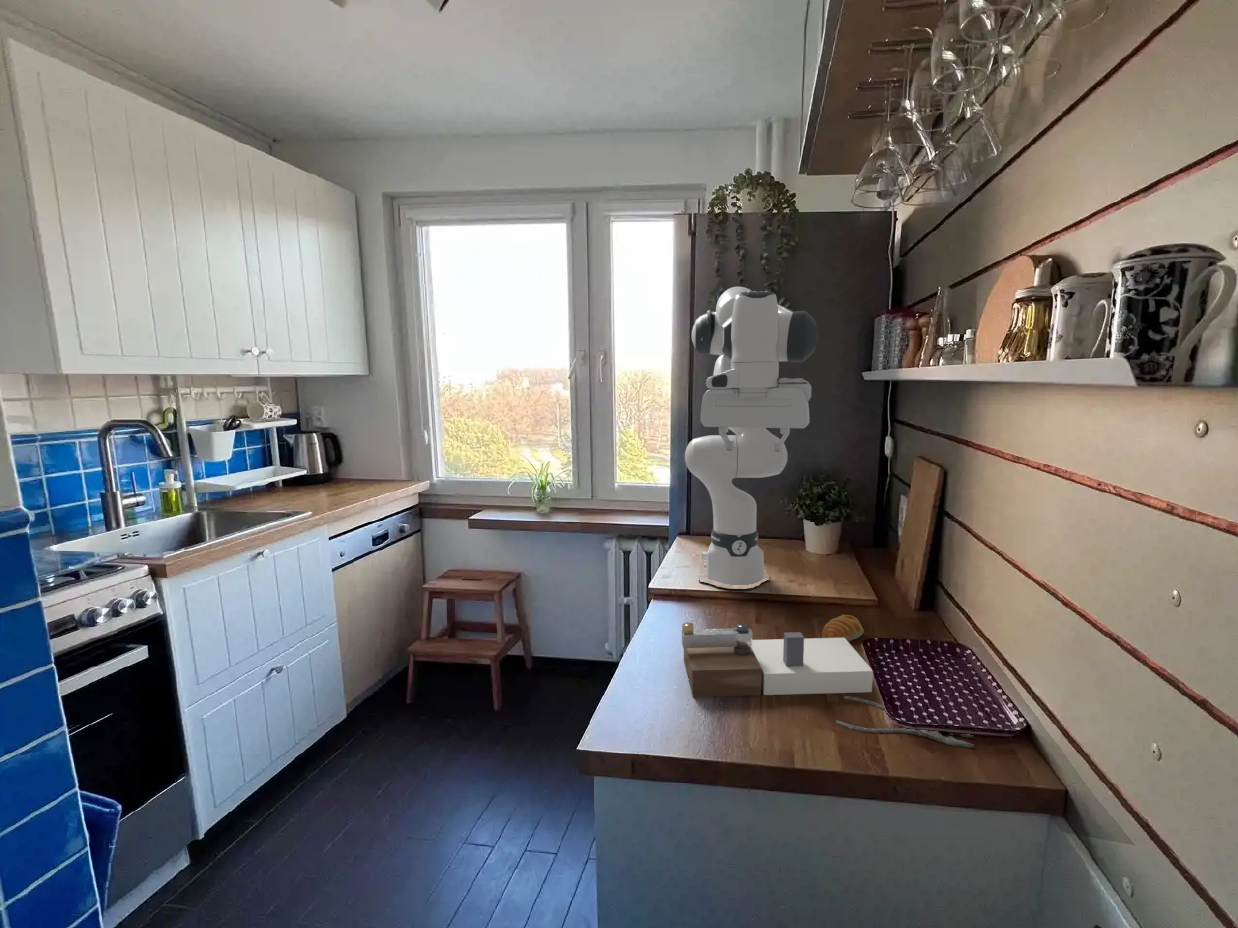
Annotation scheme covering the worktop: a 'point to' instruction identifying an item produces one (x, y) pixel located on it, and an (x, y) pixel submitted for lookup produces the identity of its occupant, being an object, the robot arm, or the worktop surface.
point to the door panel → (811, 666)
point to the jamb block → (722, 671)
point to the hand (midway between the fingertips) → (753, 451)
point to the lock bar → (716, 637)
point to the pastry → (843, 628)
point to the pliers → (930, 734)
